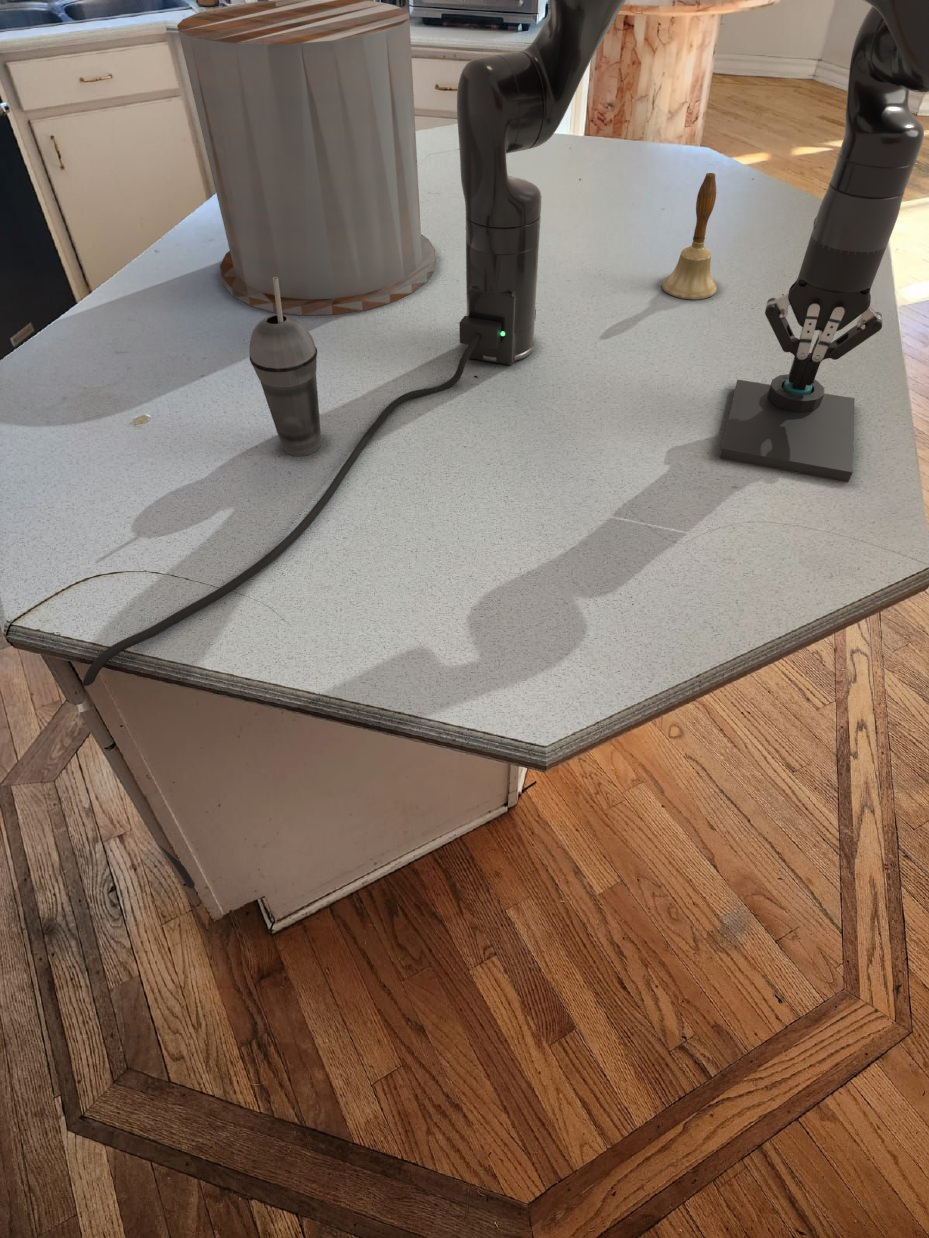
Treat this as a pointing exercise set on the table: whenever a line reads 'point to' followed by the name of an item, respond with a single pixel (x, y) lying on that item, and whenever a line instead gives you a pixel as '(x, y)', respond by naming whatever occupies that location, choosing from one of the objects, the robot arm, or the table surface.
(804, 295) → the robot arm
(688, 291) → the hand bell
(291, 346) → the beverage cup
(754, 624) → the table surface
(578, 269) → the table surface
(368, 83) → the storage basket
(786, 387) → the button
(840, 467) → the scale
